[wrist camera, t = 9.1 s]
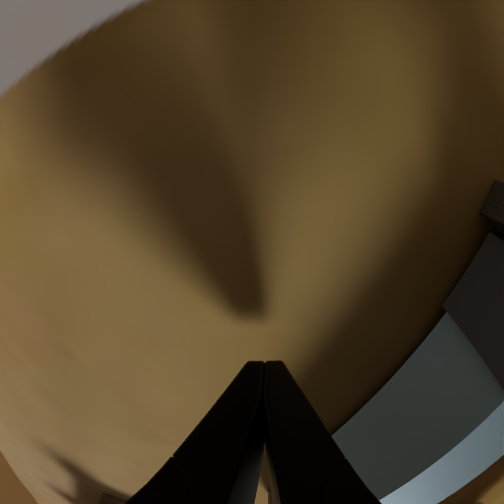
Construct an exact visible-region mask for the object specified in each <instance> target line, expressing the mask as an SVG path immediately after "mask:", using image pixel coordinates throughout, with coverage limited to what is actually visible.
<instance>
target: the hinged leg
mask: <svg viewBox="0 0 504 504" xmlns="http://www.w3.org/2000/svg"><path fill="white" fill-rule="evenodd" d="M442 306H443V308H444V309H445V310H446V311H447V312H446V313H445V315H444V316H443V317H442V318H441V320H440V321H439V322H438V324H437V325H436V326H435V328H434V329H433V330H432V331H431V333H430V334H429V335H428V336H427V338H426V339H425V340H424V341H423V342H422V344H421V345H420V346H419V347H418V348H417V350H416V351H415V352H414V353H413V354H412V355H411V357H410V358H409V359H408V360H407V361H406V362H405V363H404V365H403V366H402V367H401V368H400V369H399V370H398V371H397V372H396V373H395V375H394V376H393V377H392V378H391V379H390V380H389V381H388V382H387V383H386V384H385V385H384V386H383V387H382V388H381V389H380V390H379V391H378V392H377V393H376V394H375V395H374V397H373V398H372V399H371V400H370V401H368V402H367V403H366V404H365V405H364V406H363V407H362V408H361V409H360V410H359V411H358V412H357V413H356V414H355V415H354V416H353V417H352V418H351V419H350V420H349V421H348V422H346V423H345V424H344V425H343V426H342V427H341V428H340V429H339V430H338V431H336V432H335V433H334V434H333V435H332V438H333V439H334V441H335V442H336V444H337V445H338V447H339V448H340V450H341V451H342V453H343V454H344V456H345V459H347V460H348V461H349V463H350V464H351V465H352V467H353V468H354V470H355V471H356V473H357V474H358V475H359V477H360V478H361V479H362V481H363V482H364V483H365V485H366V486H367V487H368V488H369V490H370V491H371V492H372V493H373V494H374V495H375V496H376V497H377V499H378V500H379V501H380V502H381V503H382V504H438V503H439V502H441V501H442V500H444V499H446V498H447V497H449V496H450V495H452V494H453V493H455V492H456V491H457V490H459V489H460V488H462V487H463V486H465V485H466V484H467V483H469V482H470V481H472V480H473V479H474V478H476V477H477V476H478V475H479V474H481V473H482V472H483V471H485V470H486V469H487V468H488V467H490V466H491V465H492V464H493V463H495V462H496V461H497V460H498V459H499V458H501V457H502V456H503V455H504V241H503V240H501V239H500V238H498V237H496V236H495V235H493V234H492V233H490V232H489V234H488V236H487V238H486V239H485V241H484V243H483V244H482V246H481V248H480V249H479V251H478V253H477V254H476V256H475V257H474V259H473V261H472V262H471V264H470V265H469V267H468V269H467V270H466V272H465V273H464V275H463V276H462V278H461V279H460V281H459V282H458V284H457V285H456V286H455V288H454V289H453V291H452V292H451V294H450V295H449V296H448V298H447V299H446V301H445V302H444V303H443V305H442Z"/></svg>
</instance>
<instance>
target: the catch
mask: <svg viewBox="0 0 504 504" xmlns="http://www.w3.org/2000/svg"><path fill="white" fill-rule="evenodd" d="M480 212H481V213H482V214H483V215H484V216H486V217H487V218H488V219H489V220H490V221H491V222H492V223H493V224H494V225H495V226H496V227H497V228H499V229H500V230H501V231H502V232H503V233H504V183H503V182H501V181H498V180H496V181H495V183H494V185H493V187H492V190H491V191H490V193H489V195H488V197H487V199H486V201H485V203H484V205H483V207H482V209H481V211H480Z"/></svg>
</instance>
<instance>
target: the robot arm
mask: <svg viewBox="0 0 504 504" xmlns="http://www.w3.org/2000/svg"><path fill="white" fill-rule="evenodd" d="M265 444H266V455H267V463H268V471H269V479H270V487H271V495H272V503H273V504H382V503H381V502H380V501H379V500H378V499H377V497H376V496H375V495H374V494H373V493H372V492H371V491H370V490H369V488H368V487H367V486H366V485H365V483H364V482H363V481H362V479H361V478H360V477H359V475H358V474H357V473H356V471H355V470H354V468H353V467H352V465H351V464H350V463H349V461H348V460H347V459H345V456H344V454H343V453H342V451H341V450H340V448H339V447H338V445H337V444H336V442H335V441H334V439H333V438H332V436H331V435H330V433H329V432H328V430H327V429H326V427H325V426H324V424H323V423H322V421H321V420H320V418H319V417H318V415H317V413H316V412H315V410H314V409H313V407H312V406H311V404H310V403H309V401H308V400H307V398H306V397H305V395H304V394H303V392H302V390H301V389H300V387H299V386H298V384H297V383H296V381H295V380H294V378H293V376H292V375H291V373H290V372H289V370H288V369H287V367H286V366H285V364H284V363H283V361H266V362H265V363H264V361H248V362H247V363H246V364H245V365H244V366H243V368H242V369H241V370H240V372H239V373H238V374H237V376H236V377H235V378H234V380H233V381H232V382H231V383H230V385H229V386H228V387H227V389H226V390H225V391H224V392H223V394H222V395H221V396H220V398H219V399H218V400H217V401H216V403H215V404H214V405H213V406H212V408H211V409H210V410H209V411H208V413H207V414H206V415H205V416H204V418H203V419H202V420H201V421H200V423H199V424H198V425H197V426H196V427H195V429H194V430H193V431H192V432H191V434H190V435H189V436H188V437H187V438H186V440H185V441H184V442H183V443H182V444H181V446H180V447H179V448H178V449H177V450H176V451H175V453H174V454H173V457H170V458H169V459H168V461H167V462H166V463H165V464H164V465H163V466H162V468H161V469H160V470H159V471H158V472H157V473H156V474H155V475H154V476H153V477H152V478H151V479H150V480H149V481H148V483H147V484H146V485H144V486H143V487H142V488H141V489H140V490H139V491H138V492H137V493H136V494H134V495H133V496H132V497H131V498H130V499H129V500H127V501H126V502H125V503H124V504H254V502H255V497H256V492H257V487H258V481H259V476H260V470H261V464H262V459H263V453H264V446H265Z"/></svg>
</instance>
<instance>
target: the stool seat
mask: <svg viewBox="0 0 504 504" xmlns="http://www.w3.org/2000/svg"><path fill="white" fill-rule="evenodd" d="M124 503H125V502H122V501H120V500H117V499H115V498H113V497H111V496H108V495H106V494H104V493H103V496H102V498H101V501H100V503H99V504H124Z"/></svg>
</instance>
